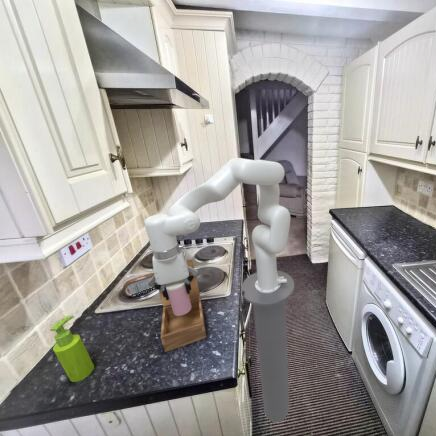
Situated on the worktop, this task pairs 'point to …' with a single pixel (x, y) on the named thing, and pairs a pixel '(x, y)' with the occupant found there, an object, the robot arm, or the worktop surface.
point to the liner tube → (178, 297)
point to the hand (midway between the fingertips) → (178, 294)
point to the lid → (194, 285)
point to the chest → (182, 326)
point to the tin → (138, 285)
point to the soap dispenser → (71, 352)
